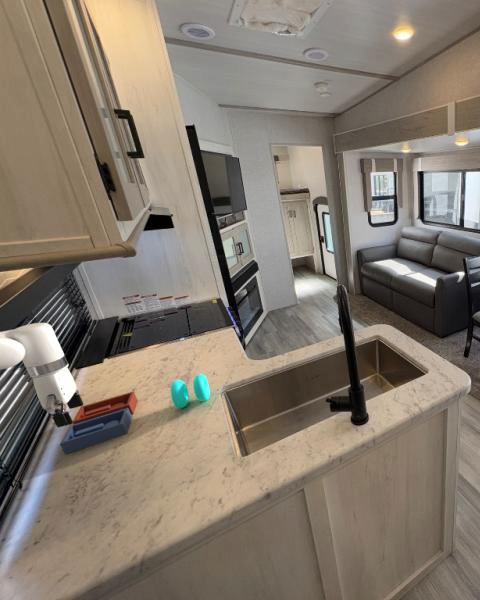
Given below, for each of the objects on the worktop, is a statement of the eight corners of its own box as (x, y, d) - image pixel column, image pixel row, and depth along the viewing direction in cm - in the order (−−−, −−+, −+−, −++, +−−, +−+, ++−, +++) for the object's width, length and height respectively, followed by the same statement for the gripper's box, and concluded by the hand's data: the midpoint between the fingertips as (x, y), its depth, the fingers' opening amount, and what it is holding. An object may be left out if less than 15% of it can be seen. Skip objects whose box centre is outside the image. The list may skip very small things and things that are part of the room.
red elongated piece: (86, 423, 104) (83, 416, 103) (90, 416, 107) (86, 410, 106) (125, 411, 109) (122, 405, 108) (127, 405, 112) (124, 398, 111)
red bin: (77, 431, 101) (72, 421, 100) (85, 416, 108) (81, 406, 107) (133, 414, 108) (129, 404, 107) (137, 400, 115) (133, 391, 114)
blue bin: (65, 454, 92) (59, 444, 91) (75, 435, 99) (70, 425, 98) (127, 433, 99) (122, 423, 98) (132, 417, 106) (128, 407, 105)
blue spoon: (77, 444, 95) (73, 437, 94) (81, 436, 98) (77, 429, 97) (119, 430, 100) (115, 423, 99) (121, 422, 103) (118, 416, 102)
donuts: (209, 405, 110) (201, 381, 107) (176, 415, 106) (167, 391, 103) (211, 390, 119) (204, 368, 115) (180, 398, 115) (172, 376, 111)
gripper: (42, 357, 92) (64, 404, 98) (13, 385, 78) (41, 438, 84) (76, 350, 96) (96, 396, 101) (54, 375, 82) (78, 427, 87)
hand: (71, 415), depth 92 cm, fingers open, 9 cm apart
